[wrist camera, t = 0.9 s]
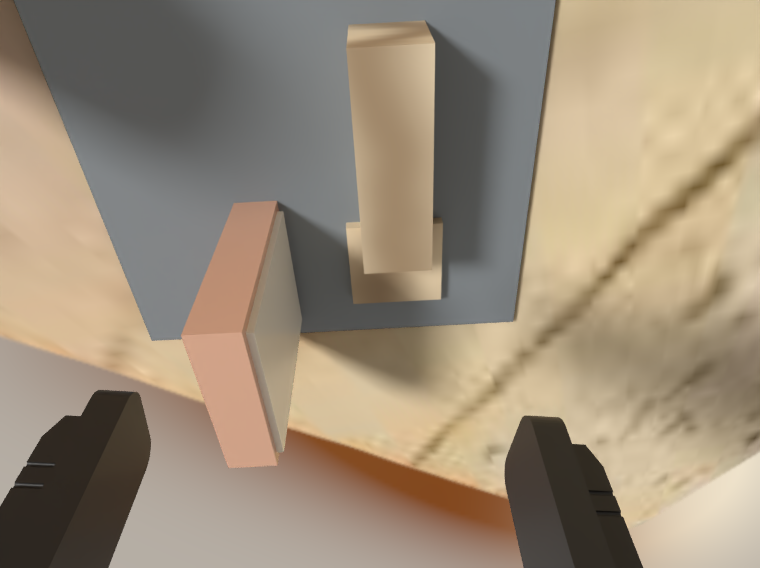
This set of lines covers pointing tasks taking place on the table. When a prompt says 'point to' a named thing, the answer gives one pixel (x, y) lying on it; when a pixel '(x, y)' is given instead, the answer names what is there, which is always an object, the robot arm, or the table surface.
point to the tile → (247, 335)
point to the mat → (291, 140)
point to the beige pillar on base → (393, 163)
